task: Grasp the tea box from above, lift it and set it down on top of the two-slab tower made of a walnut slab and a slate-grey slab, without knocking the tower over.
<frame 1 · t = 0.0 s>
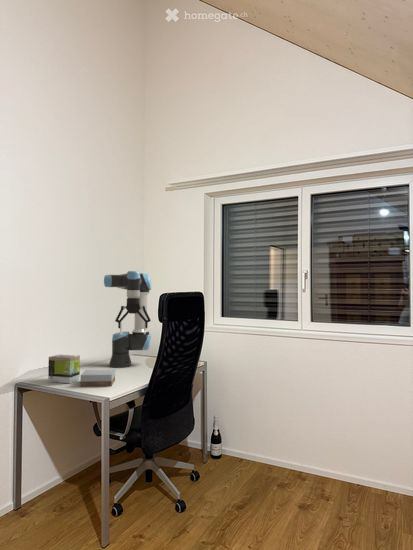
hand: (132, 334, 231), 28 cm above the table, tool pointing down, fingers open, 13 cm apart
tea box: (64, 381, 233), on the table
tower base: (98, 384, 228), on the table, touching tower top
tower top: (98, 378, 228), point 3 cm above the table, touching tower base
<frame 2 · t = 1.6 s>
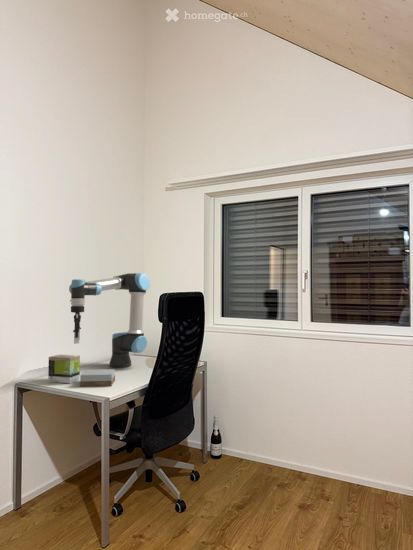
hand: (76, 341, 233), 23 cm above the table, tool pointing down, fingers open, 13 cm apart
nothing on the table moved.
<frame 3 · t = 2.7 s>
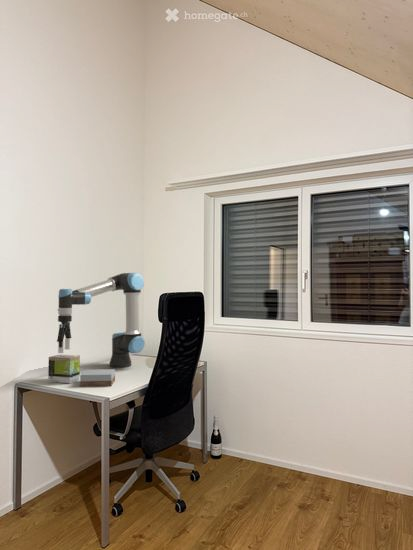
hand: (64, 351, 234), 17 cm above the table, tool pointing down, fingers open, 13 cm apart
nothing on the table moved.
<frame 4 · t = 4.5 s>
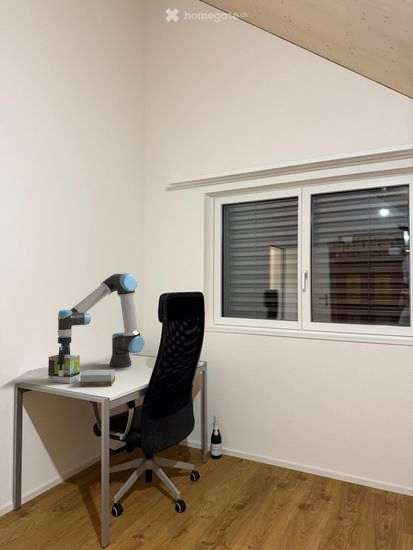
hand: (64, 373, 233), 4 cm above the table, tool pointing down, fingers closed on tea box, 12 cm apart
tea box: (64, 381, 233), on the table, touching gripper
everything else where it was.
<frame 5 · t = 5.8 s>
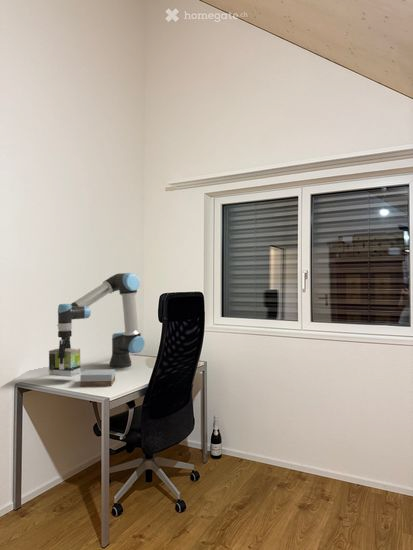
hand: (64, 367, 234), 8 cm above the table, tool pointing down, fingers closed on tea box, 12 cm apart
tea box: (64, 374, 234), point 3 cm above the table, touching gripper
everything else where it was.
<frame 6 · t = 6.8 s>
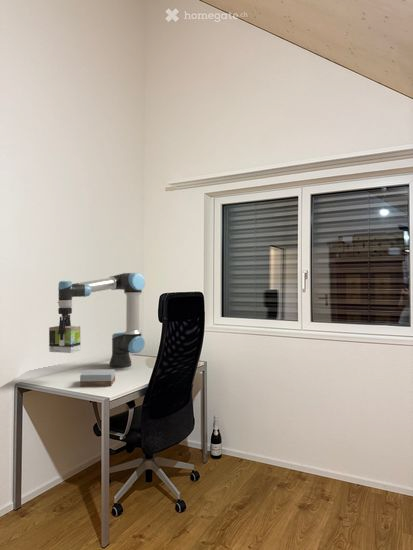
hand: (64, 344, 234), 22 cm above the table, tool pointing down, fingers closed on tea box, 12 cm apart
tea box: (64, 351, 234), point 17 cm above the table, touching gripper
tower base: (98, 384, 228), on the table
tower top: (98, 378, 228), point 3 cm above the table
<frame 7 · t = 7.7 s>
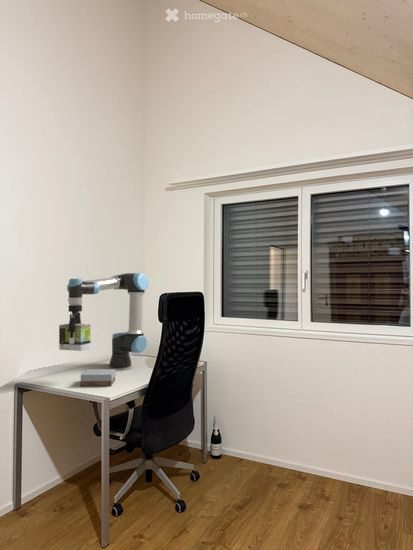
hand: (74, 341, 232), 23 cm above the table, tool pointing down, fingers closed on tea box, 12 cm apart
tea box: (74, 349, 232), point 19 cm above the table, touching gripper
tower base: (98, 384, 228), on the table, touching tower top
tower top: (98, 378, 228), point 3 cm above the table, touching tower base
when the fingers open (12 cm above the table, at t = 12.4 s): tea box drops 1 cm, resting on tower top.
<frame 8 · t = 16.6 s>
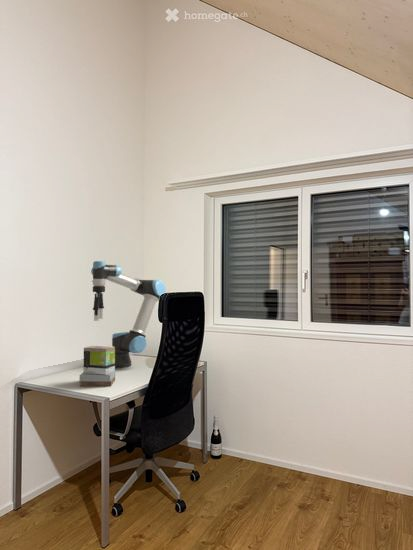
hand: (98, 319, 249), 35 cm above the table, tool pointing down, fingers open, 13 cm apart
tea box: (99, 372, 228), point 6 cm above the table, touching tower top
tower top: (97, 378, 228), point 3 cm above the table, touching tea box, tower base
everything else where it was.
at the end: tea box inside the target area on the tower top (0.9 cm from its centre), point 3.3 cm above the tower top's base; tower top moved 0.8 cm from its start; tea box tilted 0° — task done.
